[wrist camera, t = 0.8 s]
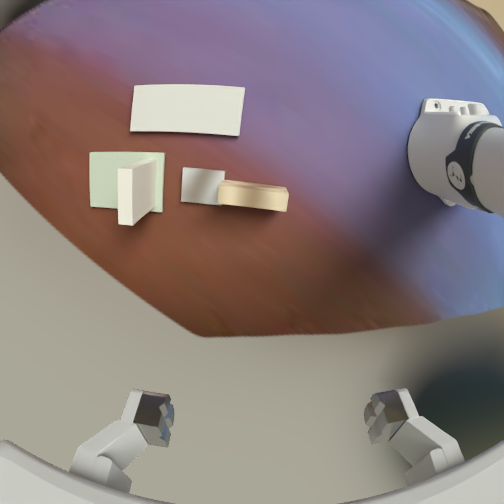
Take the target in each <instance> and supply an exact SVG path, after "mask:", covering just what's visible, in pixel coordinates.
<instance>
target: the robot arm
mask: <svg viewBox="0 0 504 504" xmlns="http://www.w3.org/2000/svg"><path fill="white" fill-rule="evenodd" d="M434 105H436V108H435V106H434ZM408 159H409V164H410V168H411V171H412V173H413V175H414V177H415V179H416V181H417V182H418V183H419V185H420V186H421V187H422V188H423V189H425V190H426V191H428V192H429V193H432V194H434V195H437V196H438V197H440V199H441V200H442V201H443V202H444V203H445V204H446V205H448V206H454V205H455V204H459V205H461V206H464V207H467V208H470V209H476V208H477V209H479V210H482V211H486V212H488V213H496V214H498V215H499V216H501V217H503V218H504V128H503V127H502V125H501V123H500V121H499V119H498V118H497V117H496V116H493V115H490V114H489V112H488V110H487V109H486V107H485V106H484V105H483V104H482V103H477V102H469V101H460V100H448V99H433V98H426V99H425V100H424V101H423V103H422V108H421V114H420V117H419V118H418V120H417V121H416V123H415V124H414V126H413V128H412V131H411V133H410V137H409V142H408ZM170 401H171V398H170V396H169V395H168V394H161V393H154V392H148V391H144V390H138V389H132V390H131V392H130V394H129V397H128V399H127V402H126V405H125V407H124V410H123V413H122V416H121V419H120V420H115V421H114V422H113V423H111V424H110V425H109V426H107V427H106V428H104V429H103V430H102V431H100V432H99V433H97V434H96V435H95V436H93V437H92V438H90V439H89V440H87V441H86V442H85V443H84V444H82V445H81V446H79V447H78V449H77V452H76V454H75V457H74V460H73V462H72V465H71V468H70V471H69V472H67V471H65V470H63V469H61V468H59V467H57V466H54V465H52V464H50V463H48V462H46V461H44V460H43V459H41V458H38V457H37V456H35V455H33V454H31V453H30V452H28V451H26V450H24V449H23V448H21V447H19V446H17V445H16V444H14V443H13V442H11V441H8V440H3V441H0V504H174V503H168V502H163V501H158V500H154V499H149V498H144V497H141V496H137V495H133V494H129V491H130V487H131V482H132V481H131V479H130V478H129V477H128V476H127V475H126V474H125V473H124V472H122V470H123V469H124V468H126V467H127V466H128V465H129V464H130V463H131V462H132V461H133V460H134V459H135V458H136V457H137V456H138V455H139V454H140V453H141V452H142V451H143V450H144V449H145V448H146V447H147V446H148V444H150V445H155V446H162V447H168V445H169V441H170V436H171V434H170V431H169V428H170V427H172V426H173V422H174V408H173V405H172V404H170ZM364 419H365V423H366V425H368V426H369V427H370V429H369V431H368V433H369V437H370V441H371V444H376V443H381V442H386V441H389V443H390V444H391V445H392V446H393V447H394V448H395V449H396V450H397V451H398V452H399V453H400V454H401V455H402V456H403V457H405V459H406V460H407V461H408V462H410V464H412V465H413V467H412V468H411V469H410V470H409V471H407V472H406V474H405V479H406V482H407V487H404V488H401V489H398V490H394V491H391V492H387V493H384V494H380V495H377V496H373V497H369V498H364V499H360V500H355V501H351V502H345V503H340V504H504V440H503V441H501V442H500V443H499V444H497V445H495V446H493V447H492V448H490V449H488V450H487V451H485V452H483V453H482V454H480V455H478V456H476V457H474V458H473V459H470V460H468V461H466V462H465V461H464V458H463V456H462V453H461V451H460V448H459V446H458V443H457V441H456V440H455V439H454V438H452V437H451V436H449V435H448V434H446V433H445V432H443V431H442V430H441V429H439V428H438V427H437V426H435V425H434V424H432V423H431V422H429V421H428V420H426V419H425V418H424V417H423V416H420V417H419V415H418V412H417V410H416V408H415V406H414V403H413V401H412V399H411V397H410V395H409V392H408V390H407V389H405V388H403V389H398V390H391V391H386V392H381V393H376V394H373V395H372V397H371V402H370V403H368V404H367V406H366V408H365V411H364Z"/></svg>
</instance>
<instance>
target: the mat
mask: <svg viewBox="0 0 504 504" xmlns="http://www.w3.org/2000/svg"><path fill="white" fill-rule="evenodd" d="M144 159H156V160H157V179H156V206H155V207H153V208H152V209H151V210H150V211H153V212H163V182H164V162H165V153H156V152H90V203H91V207H104V208H117V209H118V168H120V167H123V166H126V165H129V164H132V163H135V162H138V161H141V160H144Z"/></svg>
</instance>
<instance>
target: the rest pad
mask: <svg viewBox="0 0 504 504" xmlns="http://www.w3.org/2000/svg"><path fill="white" fill-rule="evenodd" d="M244 93H245V88H242V87H231V86H216V85H188V84H167V85H140V86H135V87H134V96H133V105H132V115H131V127H130V131H168V132H192V133H208V134H221V135H232V136H239V132H240V124H241V116H242V108H243V101H244Z"/></svg>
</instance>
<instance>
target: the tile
mask: <svg viewBox="0 0 504 504" xmlns="http://www.w3.org/2000/svg"><path fill="white" fill-rule="evenodd" d="M156 179H157V160H156V159H144V160H141V161H138V162H135V163H132V164H129V165H126V166H123V167H120V168H118V221H119V224H122V225H132V226H133V225H134V224H135V223H136V222H137V221H138V220H139V219H141V218H142V217H143V216H144V215H145V214H146V213H148V212H149V211H150V210H151V209H152V208H153V207H155V206H156Z"/></svg>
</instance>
